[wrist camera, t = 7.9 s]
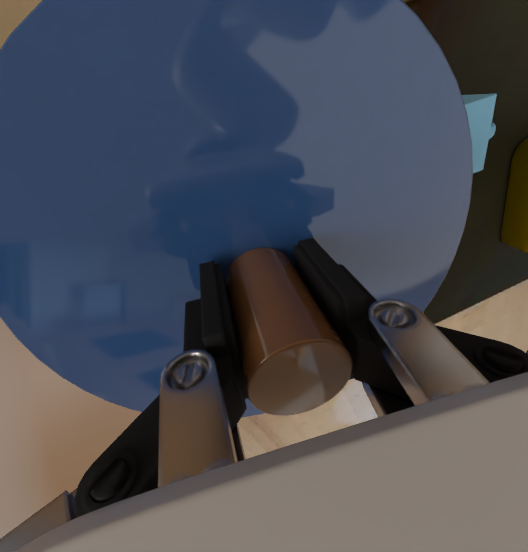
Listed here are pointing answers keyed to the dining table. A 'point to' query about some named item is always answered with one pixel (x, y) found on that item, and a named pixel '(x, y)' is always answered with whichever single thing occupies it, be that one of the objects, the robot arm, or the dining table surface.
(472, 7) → the dining table surface
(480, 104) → the teapot
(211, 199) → the lid
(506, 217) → the element tile
